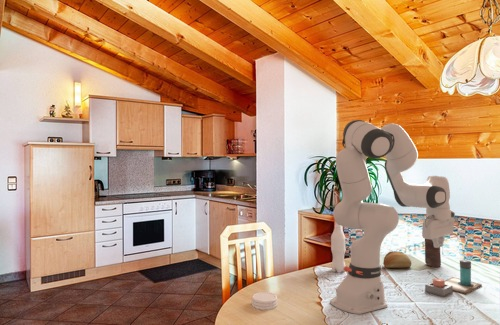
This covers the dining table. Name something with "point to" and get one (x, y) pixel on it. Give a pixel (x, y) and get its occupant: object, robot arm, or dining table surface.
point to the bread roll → (396, 260)
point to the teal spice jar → (465, 272)
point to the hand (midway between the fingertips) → (438, 246)
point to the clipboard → (459, 287)
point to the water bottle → (338, 249)
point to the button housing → (438, 289)
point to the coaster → (264, 301)
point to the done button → (439, 283)
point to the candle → (432, 254)
